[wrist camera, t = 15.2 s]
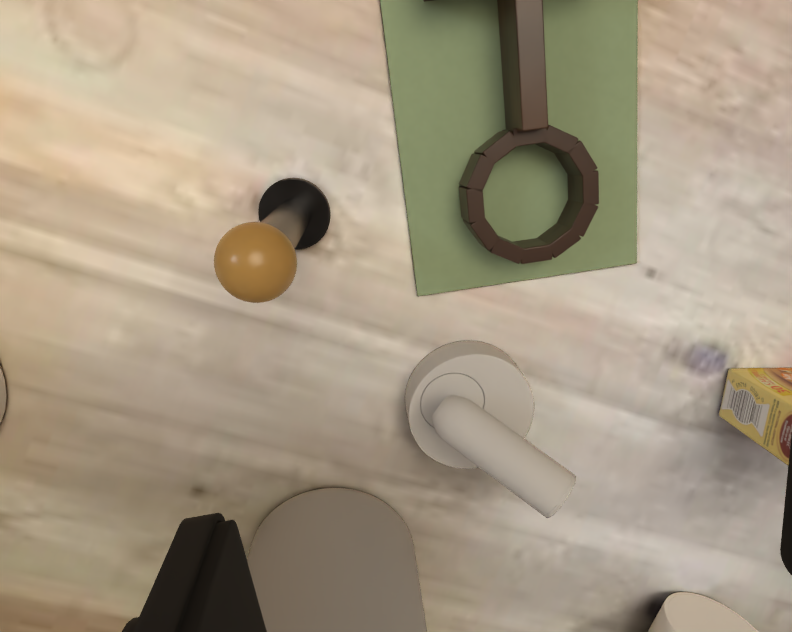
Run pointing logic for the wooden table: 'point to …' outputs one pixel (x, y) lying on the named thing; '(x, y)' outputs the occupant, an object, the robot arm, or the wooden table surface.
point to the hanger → (528, 142)
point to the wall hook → (483, 421)
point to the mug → (697, 616)
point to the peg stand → (272, 241)
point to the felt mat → (485, 116)
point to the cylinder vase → (336, 566)
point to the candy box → (761, 407)
